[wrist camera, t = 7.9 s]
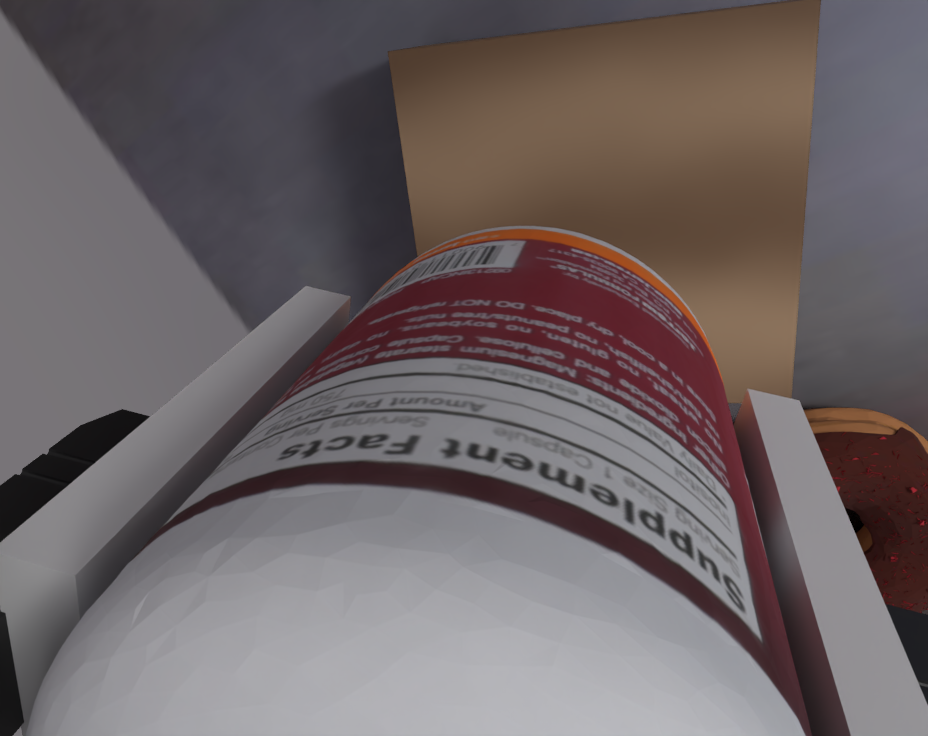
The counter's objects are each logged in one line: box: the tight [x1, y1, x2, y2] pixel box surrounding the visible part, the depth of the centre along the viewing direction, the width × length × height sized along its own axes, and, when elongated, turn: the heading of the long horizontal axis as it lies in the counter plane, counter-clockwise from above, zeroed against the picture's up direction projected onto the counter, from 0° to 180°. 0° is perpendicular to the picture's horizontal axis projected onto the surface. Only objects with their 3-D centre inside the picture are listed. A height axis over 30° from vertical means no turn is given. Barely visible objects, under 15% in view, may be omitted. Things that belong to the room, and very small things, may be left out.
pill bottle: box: [26, 226, 812, 736], centre depth 8 cm, size 6×6×11 cm
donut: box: [803, 408, 928, 613], centre depth 29 cm, size 10×10×4 cm
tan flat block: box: [388, 0, 821, 403], centre depth 25 cm, size 12×12×4 cm
